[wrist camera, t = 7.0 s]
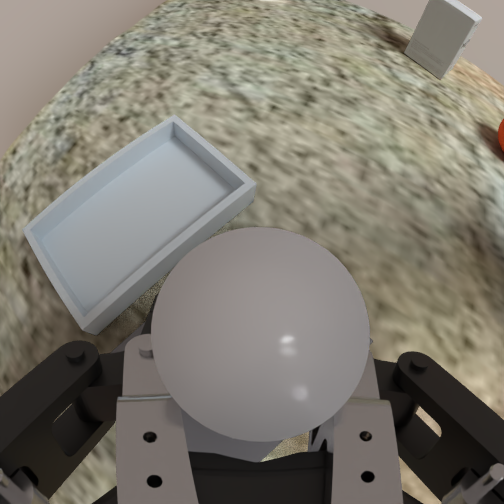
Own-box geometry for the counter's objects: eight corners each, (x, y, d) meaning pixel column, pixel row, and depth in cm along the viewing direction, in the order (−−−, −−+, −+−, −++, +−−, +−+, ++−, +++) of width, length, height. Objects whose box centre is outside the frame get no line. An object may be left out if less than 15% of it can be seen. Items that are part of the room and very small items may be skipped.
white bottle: (238, 310, 18) (264, 191, 7) (290, 362, 17) (406, 327, 6) (185, 359, 16) (108, 321, 5) (237, 413, 16) (263, 483, 5)
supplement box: (440, 81, 37) (476, 21, 26) (402, 53, 39) (430, -9, 27) (452, 70, 40) (484, 18, 28) (417, 45, 41) (444, -9, 30)
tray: (177, 134, 28) (174, 114, 26) (253, 201, 26) (256, 183, 24) (36, 242, 23) (22, 229, 21) (96, 335, 21) (82, 330, 19)
